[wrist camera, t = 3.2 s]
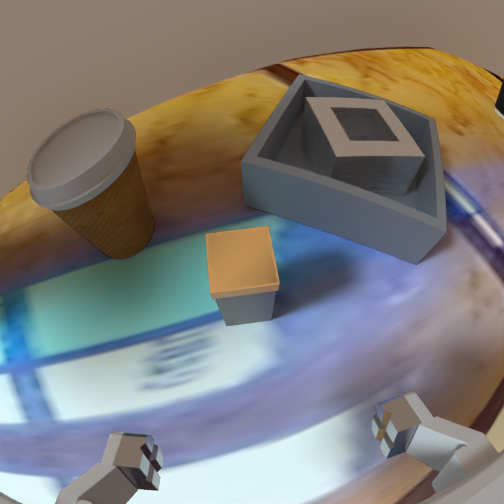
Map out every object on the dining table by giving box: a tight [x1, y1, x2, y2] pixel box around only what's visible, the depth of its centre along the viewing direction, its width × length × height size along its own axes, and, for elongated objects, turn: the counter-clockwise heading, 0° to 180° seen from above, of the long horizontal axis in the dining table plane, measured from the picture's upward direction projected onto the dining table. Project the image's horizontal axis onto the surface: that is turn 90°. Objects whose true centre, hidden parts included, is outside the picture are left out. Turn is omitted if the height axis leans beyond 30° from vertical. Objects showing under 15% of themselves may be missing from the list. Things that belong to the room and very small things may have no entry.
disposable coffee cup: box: [27, 108, 154, 259], centre depth 22 cm, size 10×10×12 cm
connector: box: [206, 226, 280, 326], centre depth 20 cm, size 4×4×8 cm
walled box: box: [241, 75, 447, 265], centre depth 28 cm, size 18×18×6 cm
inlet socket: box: [301, 97, 425, 197], centre depth 27 cm, size 9×9×6 cm
